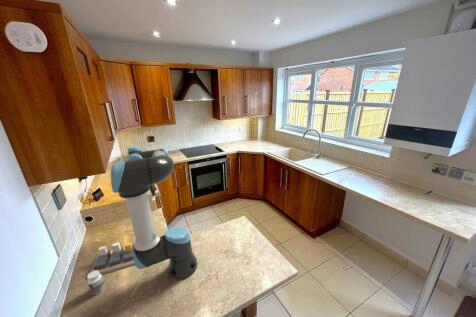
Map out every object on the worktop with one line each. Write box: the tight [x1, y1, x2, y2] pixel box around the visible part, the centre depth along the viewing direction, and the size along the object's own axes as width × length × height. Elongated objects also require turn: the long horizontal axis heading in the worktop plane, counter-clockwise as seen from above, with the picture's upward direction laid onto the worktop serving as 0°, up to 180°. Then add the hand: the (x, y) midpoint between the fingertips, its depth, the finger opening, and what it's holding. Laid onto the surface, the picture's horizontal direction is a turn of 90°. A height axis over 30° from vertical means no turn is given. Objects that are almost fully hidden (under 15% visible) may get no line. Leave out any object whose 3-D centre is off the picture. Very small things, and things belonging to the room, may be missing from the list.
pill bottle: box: [86, 270, 106, 296], centre depth 92 cm, size 6×6×10 cm
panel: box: [88, 241, 136, 276], centre depth 111 cm, size 16×24×8 cm, turn 110°
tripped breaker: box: [123, 241, 133, 253], centre depth 112 cm, size 2×3×4 cm
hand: (145, 199), depth 130 cm, fingers open, 13 cm apart
